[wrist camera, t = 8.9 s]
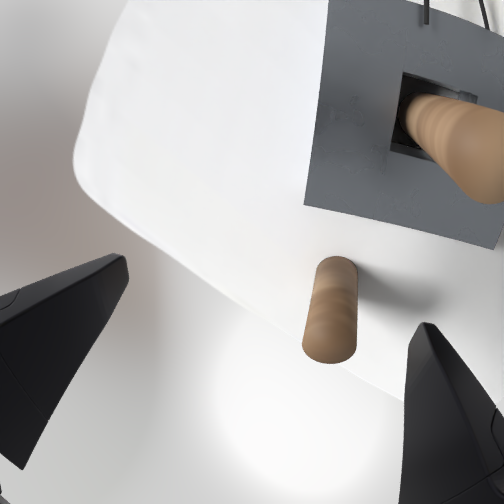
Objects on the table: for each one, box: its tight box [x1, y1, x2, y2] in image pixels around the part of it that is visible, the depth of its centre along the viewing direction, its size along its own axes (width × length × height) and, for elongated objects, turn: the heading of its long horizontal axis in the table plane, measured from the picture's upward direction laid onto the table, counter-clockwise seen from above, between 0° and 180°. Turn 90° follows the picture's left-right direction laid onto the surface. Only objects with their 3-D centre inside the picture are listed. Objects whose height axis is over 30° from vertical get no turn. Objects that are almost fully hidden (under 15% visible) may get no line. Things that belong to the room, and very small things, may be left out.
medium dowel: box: [302, 256, 358, 364], centre depth 20 cm, size 3×3×7 cm
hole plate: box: [304, 0, 504, 250], centre depth 14 cm, size 12×12×3 cm
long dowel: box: [398, 92, 504, 204], centre depth 11 cm, size 3×3×10 cm
